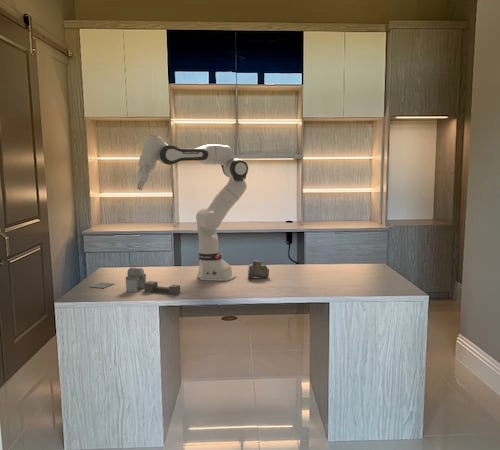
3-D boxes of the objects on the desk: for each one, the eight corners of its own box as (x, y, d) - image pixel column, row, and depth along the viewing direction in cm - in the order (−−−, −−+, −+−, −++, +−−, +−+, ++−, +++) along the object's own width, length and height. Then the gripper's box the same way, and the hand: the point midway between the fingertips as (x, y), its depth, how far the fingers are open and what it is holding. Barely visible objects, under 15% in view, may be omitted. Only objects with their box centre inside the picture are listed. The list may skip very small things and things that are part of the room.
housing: (146, 287, 234) (145, 266, 232) (136, 292, 225) (135, 270, 224) (136, 286, 236) (135, 265, 234) (126, 291, 227) (125, 269, 226)
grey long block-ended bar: (180, 292, 224) (180, 284, 223) (176, 295, 219) (175, 286, 219) (147, 289, 231) (146, 280, 230) (142, 291, 227) (141, 282, 226)
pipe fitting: (247, 279, 247) (249, 261, 247) (246, 276, 255) (248, 259, 255) (268, 281, 247) (270, 263, 247) (267, 278, 255) (269, 261, 255)
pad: (114, 284, 241) (114, 283, 241) (103, 288, 233) (103, 287, 233) (101, 283, 244) (101, 282, 244) (89, 287, 236) (89, 286, 236)
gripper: (154, 166, 227) (146, 192, 227) (150, 166, 246) (143, 190, 247) (142, 162, 225) (134, 188, 225) (139, 163, 244) (132, 187, 245)
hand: (139, 189), depth 236 cm, fingers open, 8 cm apart
